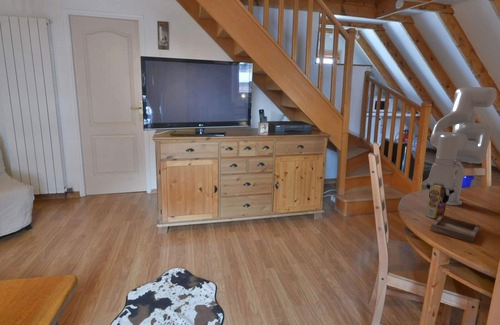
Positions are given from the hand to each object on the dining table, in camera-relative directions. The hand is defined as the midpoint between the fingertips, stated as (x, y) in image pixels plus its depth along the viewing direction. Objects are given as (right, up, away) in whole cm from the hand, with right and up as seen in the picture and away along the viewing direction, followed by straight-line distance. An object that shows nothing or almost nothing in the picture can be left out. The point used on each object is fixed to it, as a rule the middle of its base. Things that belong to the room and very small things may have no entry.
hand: (438, 200), depth 141 cm
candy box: (0, -7, +2) cm, 8 cm away
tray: (-1, -11, -13) cm, 17 cm away
